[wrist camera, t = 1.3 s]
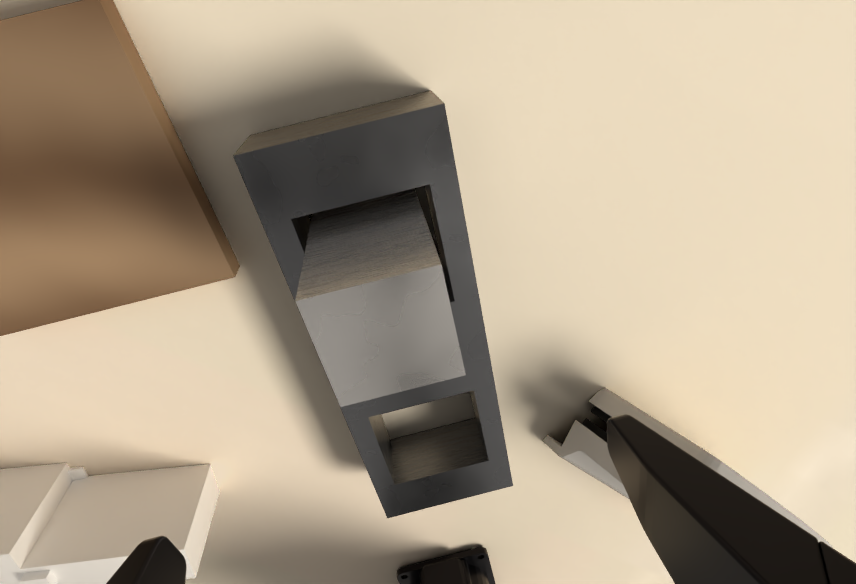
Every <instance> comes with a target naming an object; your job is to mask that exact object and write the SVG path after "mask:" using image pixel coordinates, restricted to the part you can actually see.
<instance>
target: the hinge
mask: <svg viewBox="0 0 856 584" xmlns="http://www.w3.org/2000/svg"><path fill="white" fill-rule="evenodd" d="M589 402H590V403H592V404H593V405H594V407H593V409H592V410H591V412H592V413H594V414H595V415H596V416H598V417H599V418H601V419H602V420H603V421H605V422H606V423H607V421H608V419H609V418H611V417H615V416H619V415H623V414H628V415H631V416H633V417H634V418H636V419H637V420H639V421H640V422H642V423H643V424H645V425H646V426H648V427H649V428H651V429H652V430H654V431H655V432H657V433H658V434H660V435H661V436H663V437H664V438H666V439H667V440H669V441H670V442H672V443H674V444H675V445H677V446H678V447H680V448H681V449H683V450H684V451H686V452H687V453H689V454H690V455H692V456H693V457H695V458H696V459H698V460H699V461H701V462H702V463H704V464H705V465H707V466H708V467H710V468H711V469H713V470H715V471H716V472H718V473H719V474H721V475H722V476H724V477H725V478H727V479H728V480H730V481H731V482H733V483H734V484H736V485H737V486H739V487H740V488H742V489H743V490H745V491H746V492H748V493H749V494H751V495H752V496H754V497H756V498H757V499H759V500H760V501H762V502H763V503H765V504H766V505H768V506H769V507H771V508H772V509H774V510H775V511H777V512H778V513H780V514H781V515H783V516H784V517H786V518H787V519H789V520H790V521H792V522H793V523H795V524H796V525H798V526H800V527H801V528H803V529H804V530H806V531H807V532H809V533H810V534H812V535H813V536H815V537H816V538H817V540H818V542H820V541H822V542H824V543H826V544H827V545H829V546H830V547H832V546H831V545H830V544H829V543H828V542H827V541H826V540H825V539H824V538H822V537H821V536H820V535H819V534H818V533H816V532H815V531H814V530H813V529H812V528H810V527H809V526H808V525H807V524H805V523H804V522H803V521H802V520H800V519H799V518H798V517H796V516H795V515H794V514H792V513H791V512H790V511H788V510H787V509H786V508H784V507H783V506H782V505H780V504H779V503H778V502H776V501H775V500H774V499H772V498H771V497H770V496H768V495H767V494H766V493H764V492H763V491H762V490H760V489H759V488H758V487H756V486H755V485H753V484H752V483H751V482H749V481H748V480H746V479H745V478H744V477H742V476H741V475H740V474H738V473H737V472H735V471H734V470H733V469H731V468H730V467H729V466H727V465H726V464H724V463H723V462H722V461H720V460H719V459H717V458H716V457H714V456H713V455H711V454H710V453H708V452H707V451H705V450H703V449H702V448H700V447H699V446H697V445H696V444H694V443H692V442H691V441H689V440H688V439H686V438H684V437H683V436H681V435H680V434H678V433H676V432H675V431H673V430H672V429H670V428H668V427H667V426H665V425H664V424H662V423H661V422H659V421H657V420H656V419H654V418H653V417H651V416H649V415H648V414H646V413H645V412H643V411H641V410H640V409H638V408H637V407H635V406H633V405H632V404H630V403H629V402H627V401H626V400H624V399H622V398H621V397H619V396H618V395H616V394H614V393H613V392H611V391H610V390H608V389H606V388H603V389H602V390H600V391H598V392H597V393H596V394H595V395H594V396H593V397H592V398H591V399H590V400H589ZM543 442H544V443H545V444H546V445H548V446H549V447H550V448H551V449H552V450H553V451H554V452H555V453H556V454H557V455H558V456H560V457H562V458H563V459H565V460H566V461H568V462H570V463H571V464H573V465H575V466H576V467H578V468H579V469H581V470H583V471H584V472H586V473H588V474H589V475H591V476H592V477H594V478H596V479H597V480H599V481H601V482H602V483H604V484H606V485H607V486H609V487H610V488H612V489H614V490H615V491H617V492H619V493H620V494H622V495H623V496H625V497H627V498H628V499H629V496H628V494H627V492H626V490H625V488H624V486H623V483H622V481H621V479H620V477H619V475H618V472H617V470H616V468H615V466H614V464H613V461H612V459H611V457H610V454H609V451H608V447H607V431H606V432H605V431H604V430H602V429H601V428H599V427H598V426H597V425H595V424H594V423H592V422H591V421H590V420H588V419H587V418H586V419H585V420H584V422H583V423H582V424H581V423H580V422H578V421H577V420H575V422H574V424H573V426H572V427H571V429H570V431H569V433H568V435H567V437H566V439H565V441H564V443H563V444H561V443H560V442H558V441H556V440H555V439H553V438H552V437H550V436H549V435H547V436H546V437H545V438H544V439H543ZM832 548H833V547H832Z"/></svg>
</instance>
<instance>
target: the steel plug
mask: <svg viewBox="0 0 856 584" xmlns="http://www.w3.org/2000/svg"><path fill="white" fill-rule="evenodd" d="M295 302H296V304H297V306H298V309H299V311H300V313H301V316H302V318H303V320H304V323H305V325H306V327H307V330H308V332H309V334H310V337H311V339H312V342H313V344H314V346H315V349H316V351H317V353H318V356H319V358H320V360H321V363H322V365H323V367H324V370H325V372H326V374H327V377H328V379H329V381H330V384H331V386H332V388H333V391H334V393H335V395H336V398H337V400H338V402H339V405H340V407H343V406H347V405H351V404H355V403H359V402H363V401H367V400H370V399H374V398H378V397H382V396H386V395H390V394H394V393H398V392H402V391H406V390H410V389H414V388H418V387H421V386H425V385H429V384H433V383H437V382H441V381H445V380H449V379H453V378H457V377H461V376H465V375H466V374H465V369H464V365H463V360H462V355H461V351H460V346H459V342H458V337H457V333H456V328H455V324H454V319H453V315H452V310H451V305H450V301H449V296H448V292H447V287H446V283H445V278H444V274H443V269H442V265H441V262H440V259H439V256H438V253H437V250H436V248H435V245H434V242H433V239H432V236H431V233H430V231H429V228H428V225H427V222H426V219H425V217H424V214H423V211H422V208H421V205H420V202H419V200H418V197H417V194H416V191H415V188H413V189H409V190H405V191H401V192H397V193H393V194H389V195H385V196H381V197H377V198H373V199H369V200H365V201H361V202H357V203H353V204H349V205H345V206H341V207H337V208H333V209H329V210H325V211H321V212H317V213H313V214H312V219H311V224H310V229H309V234H308V239H307V244H306V249H305V254H304V259H303V265H302V270H301V275H300V280H299V285H298V290H297V295H296V300H295Z"/></svg>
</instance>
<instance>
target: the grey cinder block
mask: <svg viewBox="0 0 856 584" xmlns="http://www.w3.org/2000/svg"><path fill="white" fill-rule="evenodd" d="M233 157H234V159H235V162H236V164H237V166H238V169H239V171H240V173H241V176H242V178H243V180H244V183H245V185H246V187H247V190H248V192H249V194H250V197H251V199H252V201H253V204H254V206H255V208H256V211H257V213H258V215H259V218H260V220H261V223H262V225H263V227H264V230H265V232H266V234H267V237H268V239H269V241H270V244H271V246H272V248H273V251H274V253H275V255H276V258H277V260H278V262H279V265H280V267H281V269H282V272H283V274H284V276H285V279H286V281H287V283H288V286H289V288H290V291H291V293H292V295H293V298H294V300H296V295H297V290H298V285H299V280H300V275H301V270H302V265H303V259H304V254H305V249H306V244H307V239H308V234H309V229H310V224H311V223H310V220H309V217H308V215H309V214H313V213H317V212H321V211H325V210H329V209H333V208H337V207H341V206H345V205H349V204H353V203H357V202H361V201H365V200H369V199H373V198H377V197H381V196H385V195H389V194H393V193H397V192H401V191H405V190H409V189H413V188H417V187H421V186H425V189H426V194H427V198H428V203H429V207H430V212H431V216H432V221H433V225H434V230H435V235H436V239H437V244H438V248H439V253H440V257H441V262H442V269H443V274H444V278H445V283H446V287H447V292H448V296H449V301H450V305H451V310H452V315H453V319H454V324H455V328H456V333H457V337H458V342H459V346H460V351H461V355H462V360H463V365H464V369H465V374H466V375H465V376H461V377H457V378H453V379H449V380H445V381H441V382H437V383H433V384H429V385H425V386H421V387H418V388H414V389H410V390H406V391H402V392H398V393H394V394H390V395H386V396H382V397H378V398H374V399H370V400H367V401H363V402H359V403H355V404H351V405H347V406H343V407H340V408H341V410H342V412H343V415H344V417H345V419H346V422H347V424H348V427H349V429H350V431H351V434H352V436H353V438H354V441H355V443H356V445H357V448H358V450H359V452H360V455H361V457H362V459H363V462H364V464H365V466H366V469H367V471H368V473H369V476H370V478H371V480H372V483H373V485H374V487H375V490H376V492H377V494H378V497H379V499H380V502H381V504H382V506H383V509H384V511H385V513H386V516H387V518H390V517H394V516H398V515H402V514H406V513H409V512H413V511H417V510H421V509H425V508H429V507H433V506H437V505H440V504H444V503H448V502H452V501H456V500H460V499H464V498H467V497H471V496H475V495H479V494H483V493H487V492H491V491H495V490H498V489H502V488H506V487H510V486H513V483H512V478H511V472H510V467H509V461H508V455H507V450H506V444H505V439H504V433H503V428H502V422H501V416H500V411H499V405H498V400H497V394H496V389H495V383H494V377H493V372H492V366H491V361H490V355H489V350H488V344H487V338H486V333H485V327H484V322H483V316H482V311H481V305H480V299H479V294H478V288H477V283H476V277H475V272H474V266H473V260H472V255H471V249H470V244H469V238H468V233H467V227H466V221H465V216H464V210H463V205H462V199H461V194H460V188H459V182H458V177H457V171H456V166H455V160H454V155H453V149H452V143H451V138H450V132H449V127H448V121H447V116H446V110H445V104H444V103H443V102H442V101H441V100H440V99H439V98H438V97H437V96H436V95H435V94H434V93H433V92H432V91H427V92H423V93H419V94H415V95H410V96H406V97H402V98H398V99H394V100H390V101H386V102H382V103H378V104H374V105H370V106H366V107H362V108H358V109H354V110H350V111H346V112H342V113H338V114H334V115H330V116H326V117H322V118H318V119H314V120H310V121H306V122H302V123H298V124H294V125H290V126H286V127H282V128H277V129H273V130H269V131H265V132H261V133H257V134H253V135H250V136H249V137H248V138H247V140H246V141H245V142H244V143H243V144H242V146H241V147H240V148H239V149H238V150H237V152H236V153H235V154H234V155H233ZM296 305H297V304H296ZM297 307H298V306H297ZM299 312H300V311H299ZM300 314H301V313H300ZM302 319H303V318H302ZM303 321H304V320H303ZM305 326H306V325H305ZM306 328H307V327H306ZM308 333H309V332H308ZM309 335H310V334H309ZM311 340H312V339H311ZM314 347H315V346H314ZM317 354H318V353H317ZM319 359H320V358H319ZM320 361H321V360H320ZM322 366H323V365H322ZM323 368H324V367H323ZM325 373H326V372H325ZM326 375H327V374H326ZM328 380H329V379H328ZM329 382H330V381H329ZM331 387H332V386H331ZM332 389H333V388H332ZM466 392H470V394H471V399H472V403H473V408H474V413H475V417H476V418H474V419H470V420H466V421H462V422H459V423H455V424H451V425H447V426H443V427H439V428H435V429H431V430H427V431H423V432H420V433H416V434H412V435H408V436H404V437H400V438H396V439H392V440H390V438H389V435H388V432H387V430H386V427H385V424H384V421H383V419H382V416H381V414H384V413H388V412H392V411H395V410H399V409H403V408H407V407H411V406H415V405H419V404H423V403H427V402H431V401H434V400H438V399H442V398H446V397H450V396H454V395H458V394H462V393H466ZM334 394H335V393H334ZM335 396H336V395H335ZM337 401H338V400H337ZM338 403H339V402H338Z"/></svg>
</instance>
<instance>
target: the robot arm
mask: <svg viewBox="0 0 856 584" xmlns="http://www.w3.org/2000/svg"><path fill="white" fill-rule="evenodd" d="M607 447H608V451H609V454H610V457H611V459H612V461H613V464H614V466H615V468H616V470H617V472H618V475H619V477H620V479H621V481H622V483H623V486H624V488H625V490H626V492H627V494H628V496H629V499H630V501H631V503H632V505H633V507H634V510H635V512H636V514H637V516H638V518H639V520H640V523H641V525H642V527H643V529H644V531H645V533H646V535H647V536H648V538H649V540H650V542H651V543H652V545H653V547H654V549H655V550H656V552H657V554H658V555H659V557H660V559H661V560H662V562H663V564H664V566H665V567H666V569H667V571H668V572H669V574H670V576H671V577H672V579H673V581H674V583H675V584H856V563H855V562H853V561H852V560H850V559H848V558H847V557H845V556H844V555H842V554H841V553H839V552H838V551H836V550H835V549H833V548H832V547H830V546H829V545H827V544H826V543H824V542H822V541H820V542H818V540H817V538H816V537H815V536H813V535H812V534H810V533H809V532H807V531H806V530H804V529H803V528H801V527H800V526H798V525H796V524H795V523H793V522H792V521H790V520H789V519H787V518H786V517H784V516H783V515H781V514H780V513H778V512H777V511H775V510H774V509H772V508H771V507H769V506H768V505H766V504H765V503H763V502H762V501H760V500H759V499H757V498H756V497H754V496H752V495H751V494H749V493H748V492H746V491H745V490H743V489H742V488H740V487H739V486H737V485H736V484H734V483H733V482H731V481H730V480H728V479H727V478H725V477H724V476H722V475H721V474H719V473H718V472H716V471H715V470H713V469H711V468H710V467H708V466H707V465H705V464H704V463H702V462H701V461H699V460H698V459H696V458H695V457H693V456H692V455H690V454H689V453H687V452H686V451H684V450H683V449H681V448H680V447H678V446H677V445H675V444H674V443H672V442H670V441H669V440H667V439H666V438H664V437H663V436H661V435H660V434H658V433H657V432H655V431H654V430H652V429H651V428H649V427H648V426H646V425H645V424H643V423H642V422H640V421H639V420H637V419H636V418H634V417H633V416H631V415H628V414H623V415H619V416H615V417H611V418H609V419H608V421H607ZM186 568H187V567H186V560H185V558H184V556H183V555H182V553H181V552H180V551H179V550H178V549H177V548H176V547H175V546H174V544H173V543H172V542H171V541H170V540H169V539H168V538H167V537H165V536H158V537H154V538H150V539H147V540H144V541H142V542H141V543H140V544H139V545H138V546H137V547H136V548H135V549H134V550H133V552H132V553H131V554H130V555H129V556H128V558H127V559H126V560H125V561H124V562H123V564H122V565H121V566H120V567H119V568H118V570H117V571H116V572H115V573H114V574H113V576H112V577H111V578H110V579H109V581H108V582H107V583H106V584H185V579H186ZM397 579H398V581H399V583H400V584H495V581H494V577H493V573H492V569H491V565H490V561H489V557H488V553H487V550H486V548H484V547H480V548H475V549H472V550H468V551H464V552H460V553H456V554H452V555H449V556H445V557H441V558H437V559H433V560H429V561H425V562H422V563H418V564H414V565H410V566H406V567H402V568H400V569H398V571H397Z"/></svg>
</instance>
